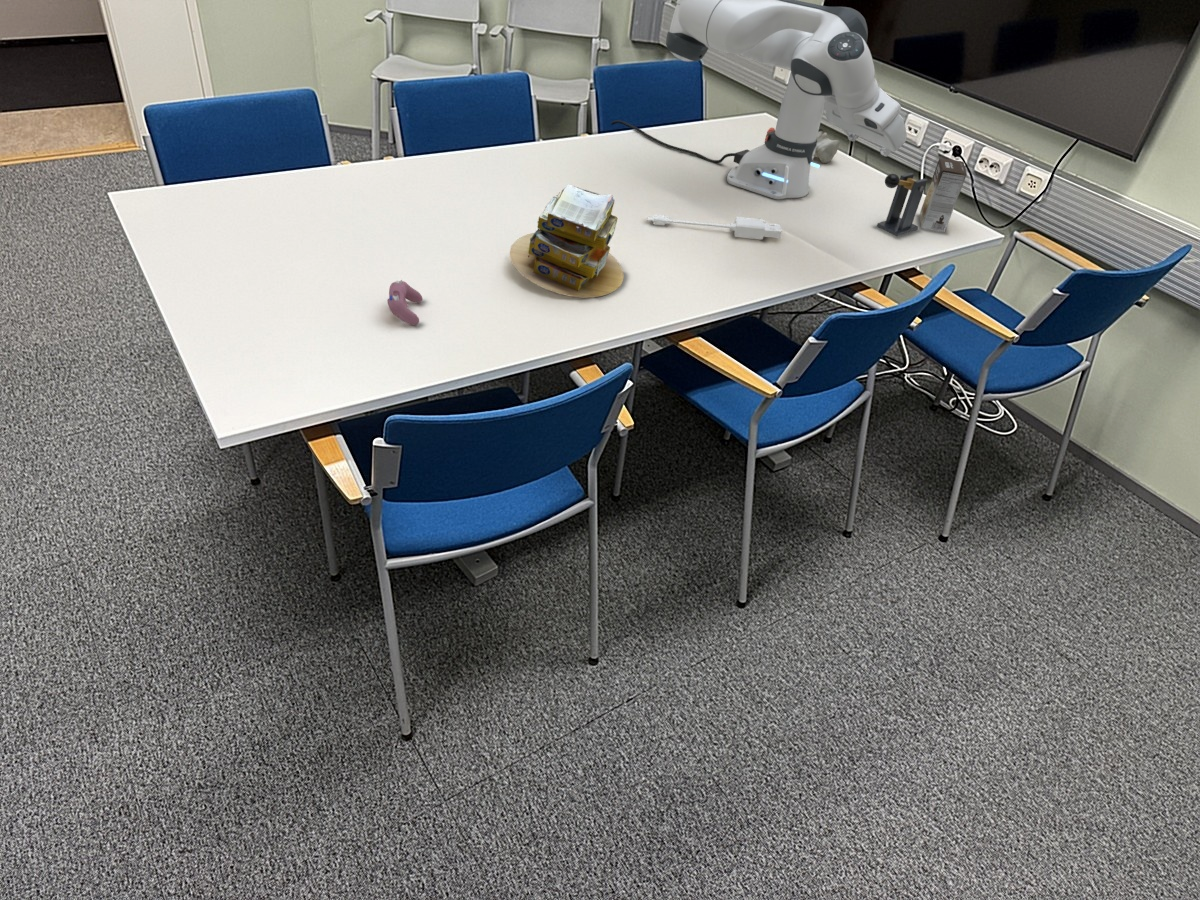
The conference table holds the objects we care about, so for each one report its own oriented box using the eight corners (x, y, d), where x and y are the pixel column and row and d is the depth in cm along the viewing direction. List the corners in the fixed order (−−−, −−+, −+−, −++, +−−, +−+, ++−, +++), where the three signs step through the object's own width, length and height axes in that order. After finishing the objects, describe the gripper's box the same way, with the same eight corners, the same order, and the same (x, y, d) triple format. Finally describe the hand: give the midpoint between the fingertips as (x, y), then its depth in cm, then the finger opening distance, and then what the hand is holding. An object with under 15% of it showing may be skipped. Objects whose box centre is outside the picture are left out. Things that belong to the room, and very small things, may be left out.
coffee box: (917, 215, 235) (938, 156, 225) (941, 219, 235) (963, 161, 225) (920, 229, 228) (942, 169, 218) (945, 233, 228) (968, 173, 218)
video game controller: (404, 306, 174) (386, 277, 170) (424, 298, 173) (407, 269, 169) (399, 333, 166) (380, 303, 162) (420, 324, 166) (402, 294, 161)
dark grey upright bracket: (896, 237, 222) (914, 185, 214) (876, 227, 226) (892, 175, 217) (917, 230, 227) (935, 179, 219) (896, 220, 231) (914, 169, 222)
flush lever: (891, 189, 211) (897, 175, 209) (879, 184, 213) (886, 170, 211) (916, 194, 220) (923, 180, 218) (905, 189, 222) (912, 175, 220)
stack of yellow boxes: (642, 268, 194) (653, 196, 184) (587, 312, 177) (595, 235, 166) (548, 235, 202) (554, 164, 192) (486, 274, 185) (488, 198, 174)
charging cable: (647, 221, 216) (648, 208, 214) (777, 233, 216) (780, 220, 214) (646, 229, 212) (647, 216, 210) (779, 242, 212) (782, 229, 210)
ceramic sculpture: (830, 138, 250) (788, 124, 258) (823, 168, 255) (782, 154, 263) (851, 132, 256) (809, 119, 264) (844, 162, 261) (803, 148, 269)
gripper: (812, 97, 193) (825, 140, 205) (886, 128, 182) (895, 172, 193) (832, 76, 193) (844, 120, 205) (906, 106, 182) (915, 151, 193)
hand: (869, 146), depth 199 cm, fingers open, 8 cm apart
